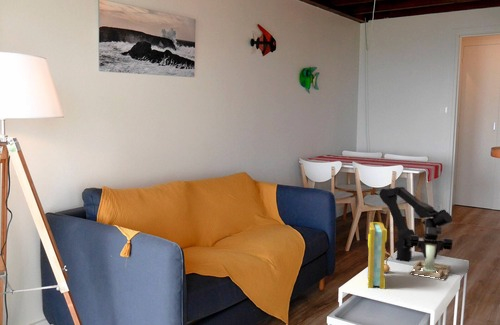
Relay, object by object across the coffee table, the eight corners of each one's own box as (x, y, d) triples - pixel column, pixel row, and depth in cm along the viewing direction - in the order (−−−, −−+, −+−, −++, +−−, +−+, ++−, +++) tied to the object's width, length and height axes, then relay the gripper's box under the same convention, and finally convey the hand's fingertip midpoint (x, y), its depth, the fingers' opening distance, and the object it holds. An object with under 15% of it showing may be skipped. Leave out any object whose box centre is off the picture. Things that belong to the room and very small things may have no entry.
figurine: (395, 273, 218) (396, 248, 217) (390, 276, 213) (391, 250, 213) (378, 269, 223) (379, 245, 222) (373, 272, 219) (374, 247, 218)
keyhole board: (409, 274, 217) (410, 269, 217) (417, 265, 232) (418, 260, 232) (444, 280, 209) (444, 275, 209) (450, 270, 224) (450, 265, 224)
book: (384, 289, 197) (386, 230, 195) (368, 287, 198) (370, 229, 196) (381, 276, 213) (383, 222, 211) (366, 275, 215) (368, 221, 213)
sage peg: (421, 271, 217) (422, 246, 216) (424, 268, 222) (425, 243, 221) (435, 273, 214) (436, 248, 213) (437, 270, 219) (438, 245, 218)
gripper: (410, 218, 223) (408, 246, 213) (453, 221, 216) (453, 251, 207) (410, 231, 231) (408, 259, 221) (451, 235, 224) (451, 263, 215)
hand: (430, 257), depth 216 cm, fingers closed on sage peg, 4 cm apart
